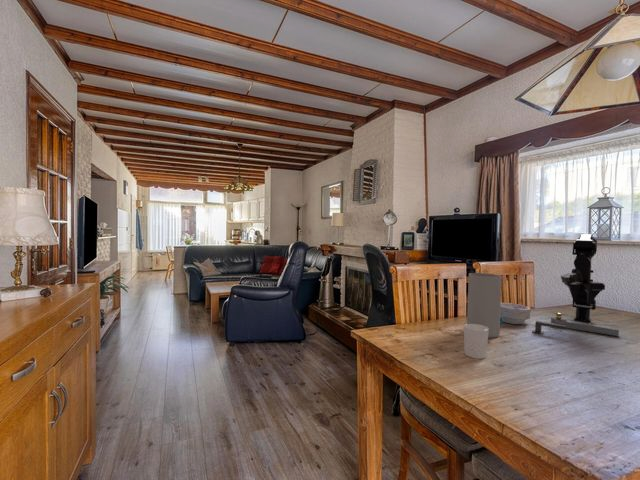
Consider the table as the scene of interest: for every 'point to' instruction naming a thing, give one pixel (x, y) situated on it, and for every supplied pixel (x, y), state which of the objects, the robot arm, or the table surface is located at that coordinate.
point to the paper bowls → (514, 313)
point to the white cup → (475, 340)
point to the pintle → (558, 315)
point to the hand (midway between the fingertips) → (581, 301)
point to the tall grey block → (485, 301)
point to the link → (586, 326)
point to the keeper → (540, 324)
